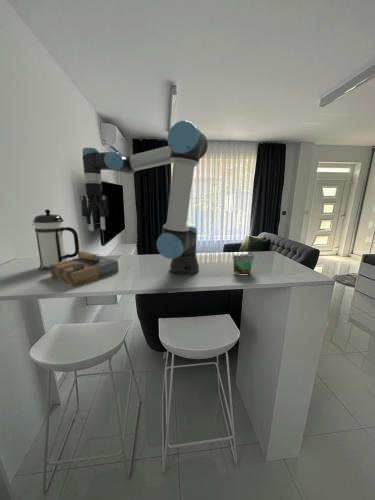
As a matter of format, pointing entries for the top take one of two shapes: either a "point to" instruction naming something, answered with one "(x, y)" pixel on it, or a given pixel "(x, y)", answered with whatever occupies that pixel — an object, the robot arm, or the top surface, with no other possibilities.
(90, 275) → the slotted wooden block
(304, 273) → the top surface
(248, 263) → the food container
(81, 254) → the lock bar
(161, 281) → the top surface
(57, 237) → the coffee press
